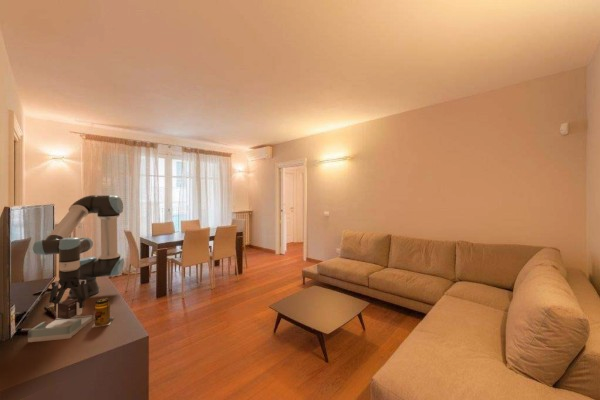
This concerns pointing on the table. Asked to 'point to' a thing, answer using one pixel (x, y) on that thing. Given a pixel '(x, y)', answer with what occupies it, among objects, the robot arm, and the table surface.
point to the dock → (58, 328)
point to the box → (67, 308)
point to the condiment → (102, 313)
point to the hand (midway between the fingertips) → (69, 315)
